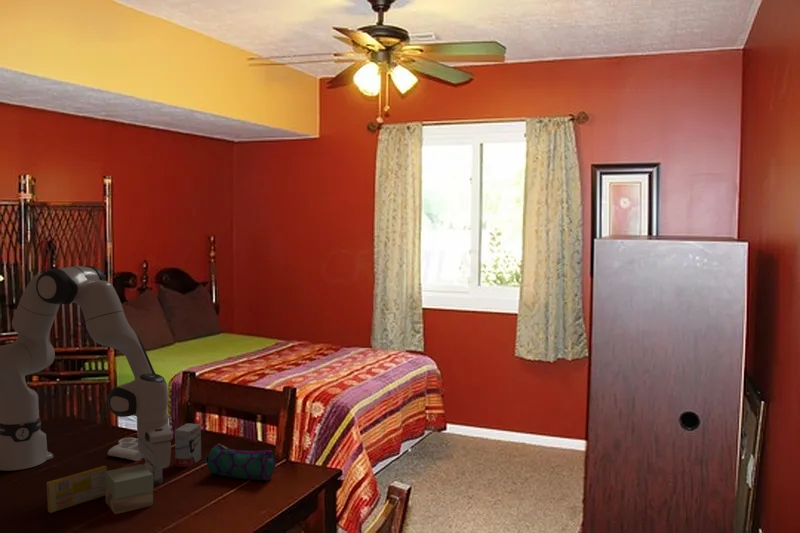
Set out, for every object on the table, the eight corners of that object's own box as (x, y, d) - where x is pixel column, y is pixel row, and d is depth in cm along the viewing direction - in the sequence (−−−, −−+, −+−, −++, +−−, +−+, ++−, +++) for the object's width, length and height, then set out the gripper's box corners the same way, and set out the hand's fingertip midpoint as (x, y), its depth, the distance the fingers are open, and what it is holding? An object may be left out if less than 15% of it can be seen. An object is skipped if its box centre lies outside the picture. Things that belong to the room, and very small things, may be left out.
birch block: (105, 502, 191) (105, 487, 191) (142, 494, 197) (142, 479, 197) (115, 515, 183) (114, 498, 183) (153, 506, 189) (152, 490, 189)
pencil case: (203, 478, 210) (203, 447, 209) (219, 468, 218) (218, 438, 217) (264, 486, 204) (264, 454, 203) (278, 475, 212) (278, 445, 211)
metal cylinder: (142, 481, 207) (142, 461, 206) (159, 477, 209) (159, 458, 209) (147, 486, 203) (147, 466, 202) (164, 482, 205) (164, 463, 205)
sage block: (105, 487, 191) (105, 471, 191) (142, 479, 197) (142, 463, 197) (115, 499, 183) (114, 482, 183) (153, 490, 189) (153, 474, 189)
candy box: (105, 493, 198) (104, 464, 197) (108, 495, 196) (108, 466, 196) (46, 511, 185) (46, 481, 184) (50, 513, 184) (49, 483, 183)
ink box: (188, 468, 218) (188, 431, 217) (174, 466, 219) (174, 430, 218) (201, 458, 226) (201, 423, 225) (188, 457, 227) (187, 422, 226)
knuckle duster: (100, 456, 228) (134, 443, 242) (141, 464, 221) (174, 451, 234) (100, 446, 228) (134, 434, 242) (141, 454, 221) (174, 441, 234)
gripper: (132, 422, 211) (132, 466, 212) (152, 439, 195) (152, 487, 196) (153, 418, 215) (153, 462, 216) (174, 435, 199) (175, 482, 200)
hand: (153, 474), depth 206 cm, fingers open, 5 cm apart
